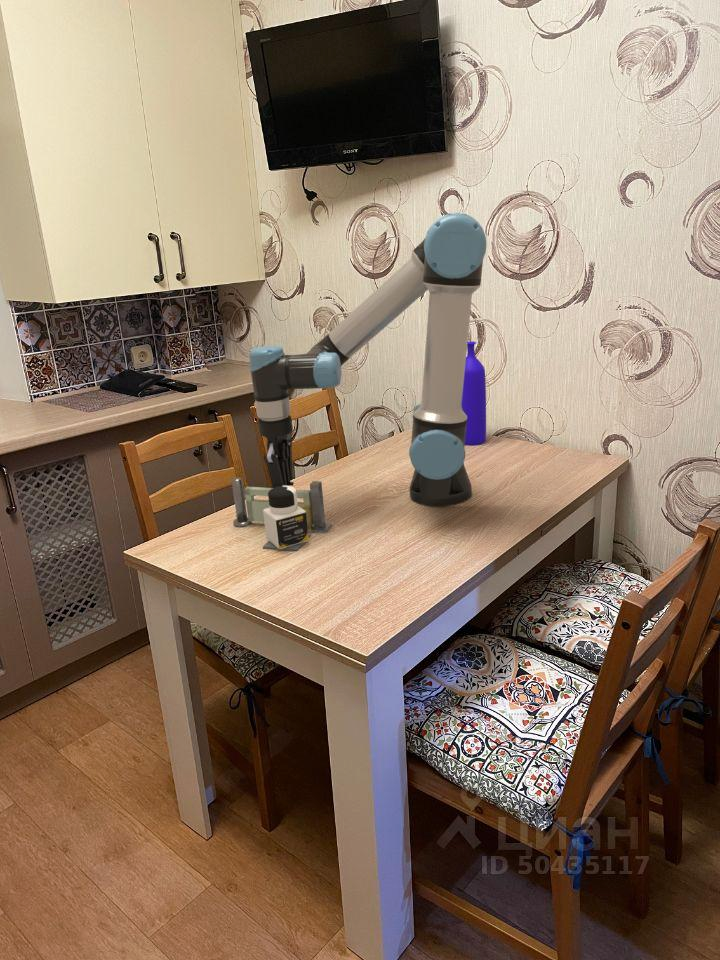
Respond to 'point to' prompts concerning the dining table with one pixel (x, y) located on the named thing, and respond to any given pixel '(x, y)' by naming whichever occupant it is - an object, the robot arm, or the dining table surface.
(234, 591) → the dining table surface
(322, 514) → the post
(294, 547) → the mat
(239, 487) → the hinge post
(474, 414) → the bottle
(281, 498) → the medicine bottle
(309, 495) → the gate
